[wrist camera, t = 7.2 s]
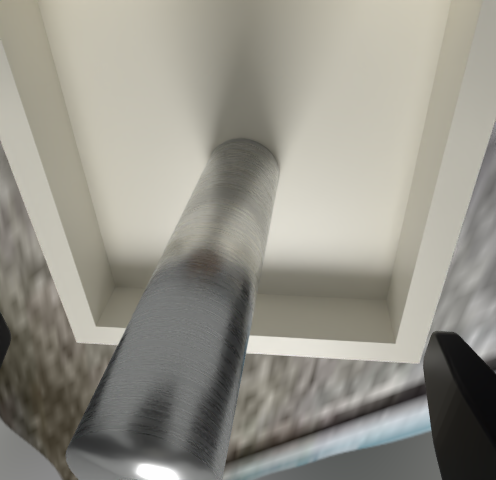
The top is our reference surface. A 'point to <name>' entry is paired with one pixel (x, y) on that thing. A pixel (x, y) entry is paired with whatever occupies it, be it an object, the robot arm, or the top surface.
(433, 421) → the robot arm
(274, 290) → the tray
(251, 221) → the lock pin
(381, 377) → the top surface
